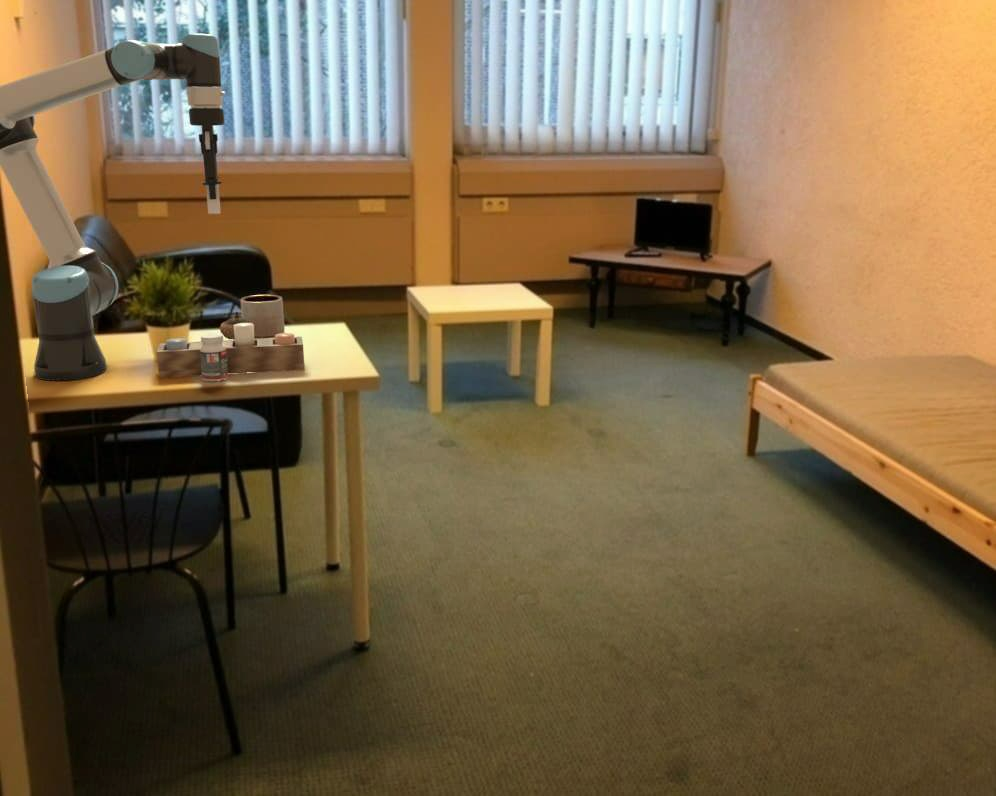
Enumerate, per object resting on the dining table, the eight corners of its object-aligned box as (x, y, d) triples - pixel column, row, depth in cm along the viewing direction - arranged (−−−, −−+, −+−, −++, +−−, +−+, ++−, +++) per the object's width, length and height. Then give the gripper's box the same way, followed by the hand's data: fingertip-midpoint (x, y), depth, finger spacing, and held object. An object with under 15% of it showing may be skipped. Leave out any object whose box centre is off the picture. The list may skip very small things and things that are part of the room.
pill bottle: (228, 381, 223) (225, 337, 220) (202, 383, 221) (198, 339, 218) (228, 374, 228) (224, 331, 225) (201, 376, 227) (198, 333, 224)
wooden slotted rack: (159, 377, 225) (156, 351, 224) (162, 368, 233) (159, 343, 231) (304, 369, 232) (303, 344, 230) (303, 361, 240) (301, 336, 238)
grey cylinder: (167, 367, 227) (165, 343, 225) (169, 362, 231) (166, 338, 229) (187, 366, 228) (185, 342, 226) (189, 361, 232) (186, 337, 230)
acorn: (215, 351, 249) (212, 311, 246) (244, 345, 255) (241, 306, 252) (234, 356, 243) (230, 316, 241) (263, 350, 249) (260, 311, 246)
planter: (250, 328, 273) (248, 293, 270) (290, 329, 272) (287, 294, 269) (236, 338, 262) (234, 301, 260) (277, 339, 261) (275, 302, 259)
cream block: (235, 351, 229) (233, 327, 228) (235, 346, 233) (233, 323, 232) (255, 350, 230) (253, 326, 229) (255, 345, 234) (253, 322, 233)
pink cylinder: (276, 361, 232) (274, 337, 230) (276, 356, 236) (274, 333, 234) (295, 360, 233) (294, 336, 231) (295, 355, 237) (293, 332, 235)
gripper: (222, 107, 221) (230, 216, 228) (224, 106, 233) (231, 210, 240) (186, 107, 219) (195, 217, 226) (190, 106, 231) (199, 210, 238)
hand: (214, 213), depth 233 cm, fingers closed
